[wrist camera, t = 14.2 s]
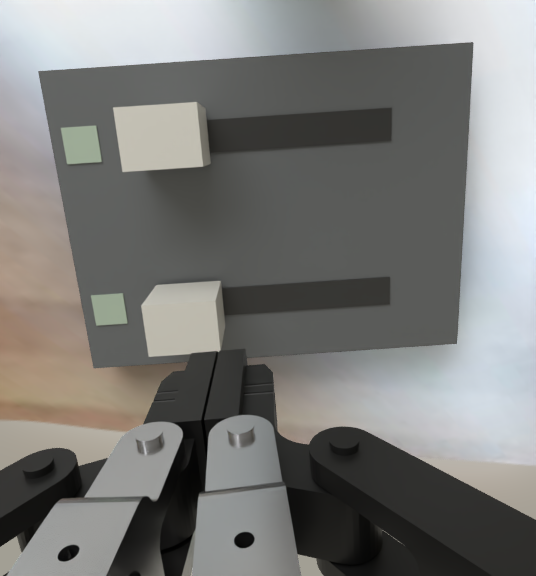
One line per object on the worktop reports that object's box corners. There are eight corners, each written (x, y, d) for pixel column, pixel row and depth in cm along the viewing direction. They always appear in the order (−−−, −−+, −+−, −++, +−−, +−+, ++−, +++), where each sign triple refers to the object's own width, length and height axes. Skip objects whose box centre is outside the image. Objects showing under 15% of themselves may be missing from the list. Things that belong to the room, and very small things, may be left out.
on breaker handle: (205, 108, 26) (196, 101, 23) (210, 163, 27) (203, 166, 24) (133, 113, 26) (113, 107, 23) (141, 168, 27) (122, 172, 24)
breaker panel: (451, 52, 29) (474, 42, 26) (440, 327, 34) (457, 344, 31) (59, 78, 29) (37, 70, 26) (107, 349, 34) (93, 368, 31)
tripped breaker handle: (220, 280, 29) (215, 300, 26) (225, 325, 30) (220, 352, 26) (156, 284, 29) (141, 305, 26) (162, 330, 30) (148, 356, 26)
